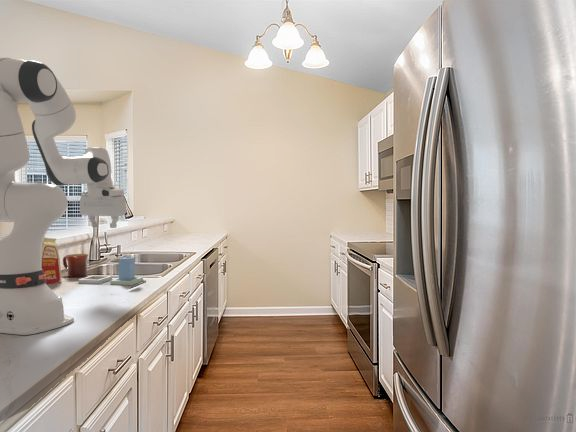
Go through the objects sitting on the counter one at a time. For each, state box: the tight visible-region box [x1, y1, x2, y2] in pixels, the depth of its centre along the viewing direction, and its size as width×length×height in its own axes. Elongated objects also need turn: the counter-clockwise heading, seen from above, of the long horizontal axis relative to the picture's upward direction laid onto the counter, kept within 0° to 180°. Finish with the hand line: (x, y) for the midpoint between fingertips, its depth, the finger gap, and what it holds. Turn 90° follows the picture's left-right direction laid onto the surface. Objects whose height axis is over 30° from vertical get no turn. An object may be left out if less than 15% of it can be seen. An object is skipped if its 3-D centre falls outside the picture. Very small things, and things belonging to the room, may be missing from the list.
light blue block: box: [118, 253, 136, 281], centre depth 159 cm, size 4×4×11 cm
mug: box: [62, 253, 89, 278], centre depth 174 cm, size 12×9×10 cm
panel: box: [75, 274, 147, 289], centre depth 160 cm, size 24×12×2 cm, turn 81°
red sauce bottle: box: [41, 236, 63, 285], centre depth 160 cm, size 9×9×20 cm
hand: (104, 227), depth 150 cm, fingers open, 8 cm apart
